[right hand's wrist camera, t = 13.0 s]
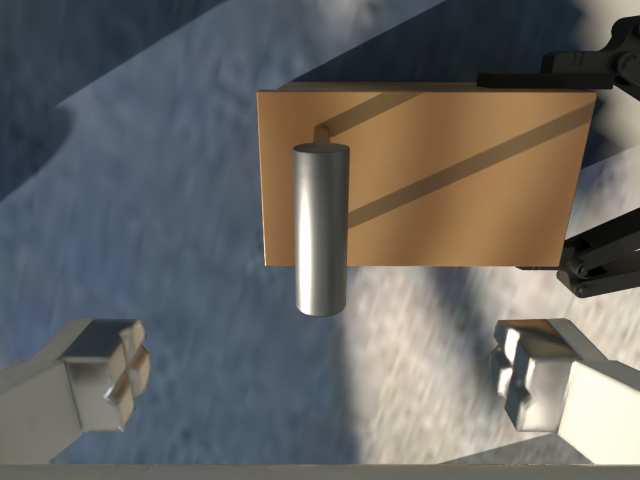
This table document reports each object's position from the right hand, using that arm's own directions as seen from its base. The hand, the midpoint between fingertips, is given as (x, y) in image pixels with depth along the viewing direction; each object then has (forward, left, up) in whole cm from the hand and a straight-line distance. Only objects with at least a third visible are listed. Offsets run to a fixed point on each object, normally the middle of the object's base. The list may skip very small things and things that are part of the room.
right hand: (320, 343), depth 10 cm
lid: (+2, +5, -15) cm, 16 cm away
